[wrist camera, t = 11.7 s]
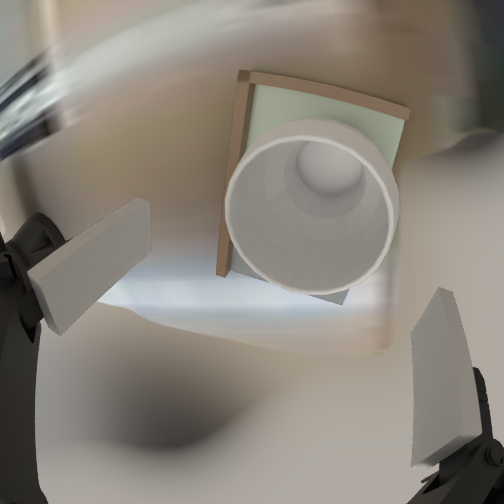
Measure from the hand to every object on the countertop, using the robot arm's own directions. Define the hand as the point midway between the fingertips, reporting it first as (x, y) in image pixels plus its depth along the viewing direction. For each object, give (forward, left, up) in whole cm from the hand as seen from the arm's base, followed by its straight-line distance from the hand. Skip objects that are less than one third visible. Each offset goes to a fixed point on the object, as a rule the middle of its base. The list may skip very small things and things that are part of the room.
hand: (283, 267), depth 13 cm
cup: (0, 0, -20) cm, 20 cm away
